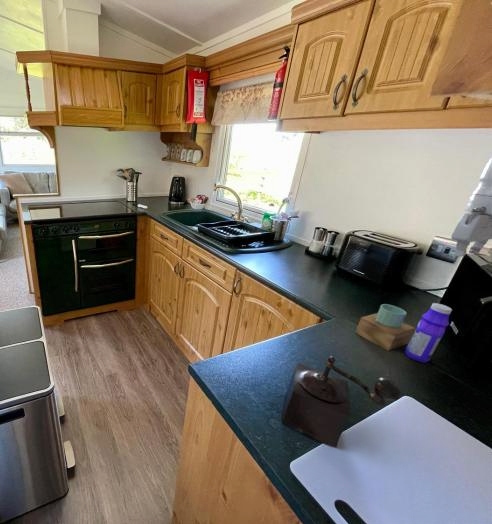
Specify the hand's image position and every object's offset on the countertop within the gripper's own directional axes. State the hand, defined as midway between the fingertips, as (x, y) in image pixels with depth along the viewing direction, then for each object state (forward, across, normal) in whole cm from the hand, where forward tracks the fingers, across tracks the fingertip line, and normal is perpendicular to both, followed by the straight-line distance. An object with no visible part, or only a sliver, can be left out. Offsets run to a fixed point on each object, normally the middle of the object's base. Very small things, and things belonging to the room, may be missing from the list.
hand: (466, 254), depth 84 cm
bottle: (+31, -12, -3) cm, 33 cm away
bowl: (+25, -12, +6) cm, 28 cm away
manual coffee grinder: (+31, -63, -9) cm, 71 cm away
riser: (+31, -12, +6) cm, 33 cm away
